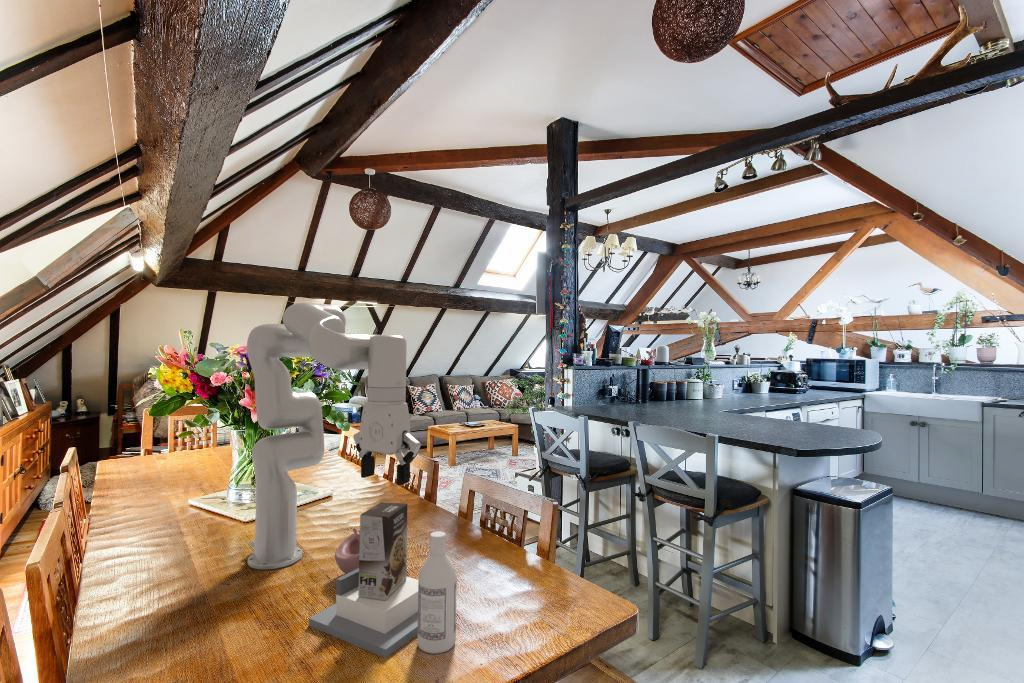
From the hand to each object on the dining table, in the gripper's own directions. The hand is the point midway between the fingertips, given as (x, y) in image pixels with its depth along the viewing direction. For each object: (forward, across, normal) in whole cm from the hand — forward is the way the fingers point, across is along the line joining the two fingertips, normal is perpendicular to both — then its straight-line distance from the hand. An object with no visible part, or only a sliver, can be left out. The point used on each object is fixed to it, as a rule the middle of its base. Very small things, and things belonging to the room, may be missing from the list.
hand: (385, 479), depth 101 cm
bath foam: (+27, +16, -2) cm, 32 cm away
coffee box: (+22, 0, 0) cm, 22 cm away
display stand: (+27, 0, 0) cm, 27 cm away
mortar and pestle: (+28, -18, +11) cm, 35 cm away
